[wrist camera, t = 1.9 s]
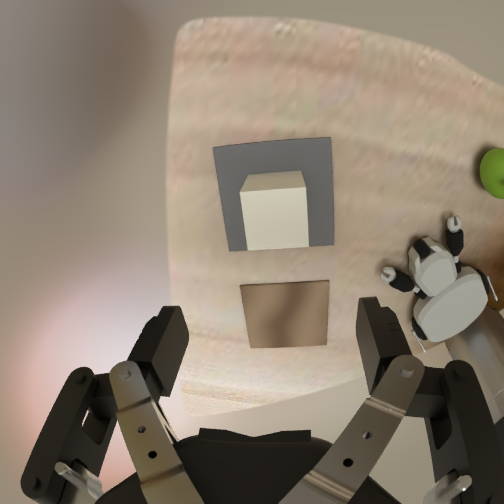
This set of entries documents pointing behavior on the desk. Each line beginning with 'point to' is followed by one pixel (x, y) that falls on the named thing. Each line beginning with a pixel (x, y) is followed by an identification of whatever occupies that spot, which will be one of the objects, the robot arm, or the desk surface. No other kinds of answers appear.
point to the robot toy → (441, 287)
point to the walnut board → (286, 313)
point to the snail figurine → (493, 172)
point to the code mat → (278, 160)
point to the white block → (275, 211)
